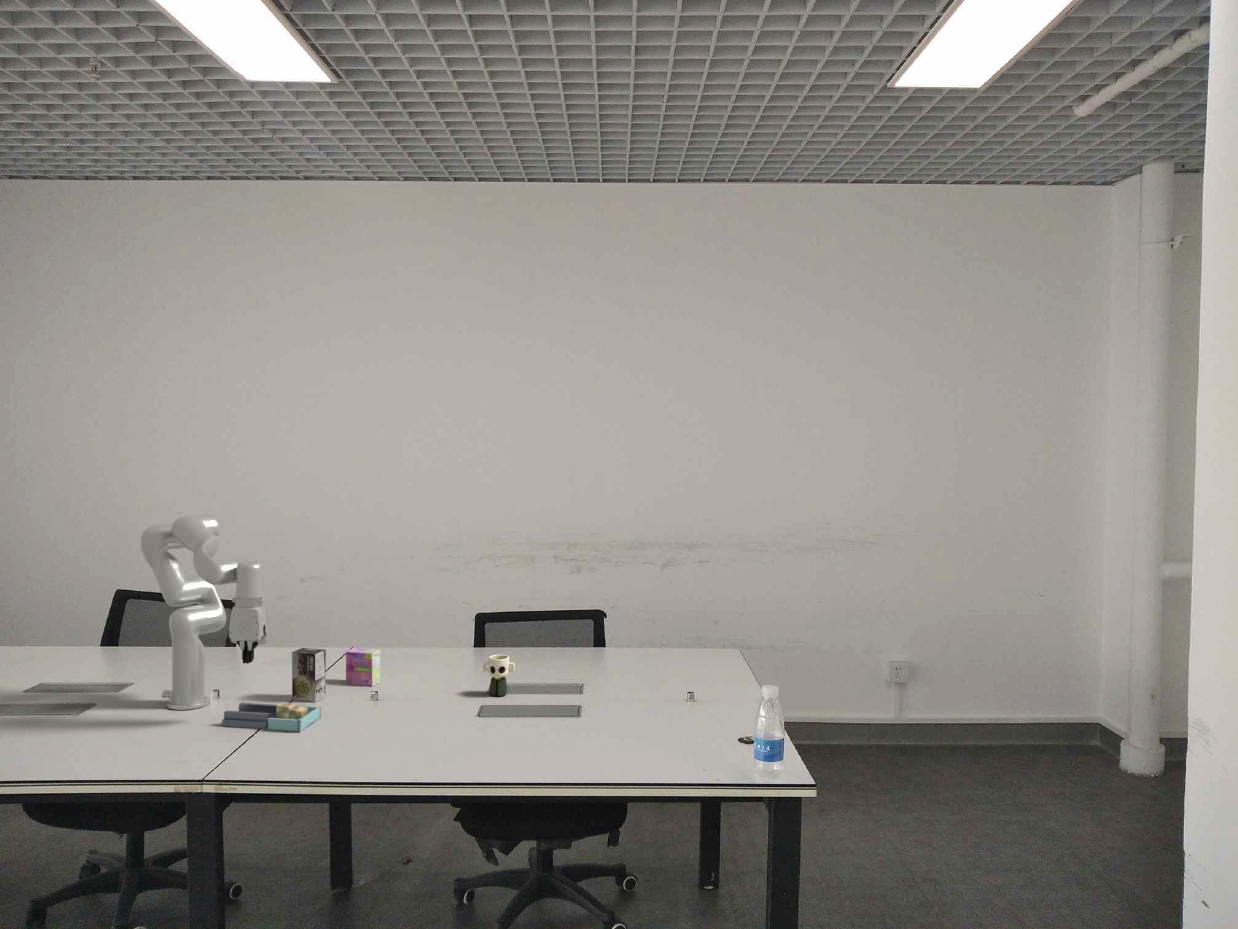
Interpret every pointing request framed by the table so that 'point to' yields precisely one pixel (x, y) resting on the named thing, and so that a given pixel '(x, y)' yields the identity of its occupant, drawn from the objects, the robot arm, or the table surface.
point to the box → (362, 667)
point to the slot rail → (250, 716)
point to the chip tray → (295, 721)
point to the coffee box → (308, 674)
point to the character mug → (498, 673)
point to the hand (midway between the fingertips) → (247, 662)
